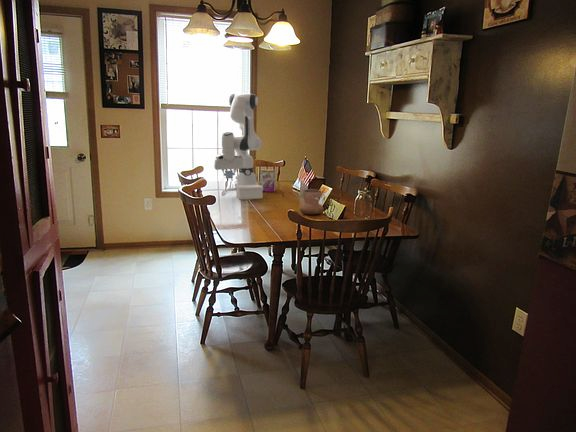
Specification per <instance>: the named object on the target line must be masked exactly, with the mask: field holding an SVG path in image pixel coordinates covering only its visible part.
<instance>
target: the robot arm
mask: <svg viewBox="0 0 576 432" xmlns="http://www.w3.org/2000/svg"><path fill="white" fill-rule="evenodd" d="M228 103H229V106H230V110H229V117H230V118H231V119H232V121H233V122H235V123H237V124H238V126H239V129H240V131H242V135H234V133H233V132H232V131H231V132H230V131H227V132H223V133H222V136H221V147H222V150H221V153H219V154H216V155H215V160H214V165H213V166H214V169H215V170H216V171H219V170H221V172H222V173H223V176H225V177H226V172H225V170H233V176H235V175H236V176H235V181H234V186H238V185H259V183H258V182H257V178H256V177H257V175H256V173H255V172H254V171H255V168H254V158H253V156H252V155H250V153H248V151H258V150H260V149H261V147H262V144H263V142H262V140H261V138H260V137H259V136H258V135H257V133H256V131H255V126H254V110H255V109H256V107H258V104H259V99H258V96H257V94H254V93H247V92H246V93H245V92H243V93H232V94H231V95H230V96H229V97H228ZM236 154H237V155H236ZM237 170H238V174H236V172H237Z"/></svg>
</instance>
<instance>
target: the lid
mask: <svg viewBox="0 0 576 432" xmlns="http://www.w3.org/2000/svg"><path fill="white" fill-rule="evenodd" d="M235 187H237V188H238V189H239V191H254V190H263V187H262V186H260V184H257V185H235Z"/></svg>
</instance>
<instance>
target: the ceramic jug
mask: <svg viewBox="0 0 576 432" xmlns="http://www.w3.org/2000/svg"><path fill="white" fill-rule="evenodd" d="M301 192H302V198H303V201H304V202H303V203H302V204H301V205H300V206H299V211H300V213H302V214H304V215H307V214H308V215H309V216H315V215H316V214H317V215H320V214H322V213H323V212H324V209H325V208H324V207H323V205H321V203H319V202H320V200H321V198H322V196H323V195H322V194H323V190H320V189H315V188H306V189H302V190H301ZM317 215H316V216H317Z"/></svg>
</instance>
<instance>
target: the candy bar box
mask: <svg viewBox="0 0 576 432" xmlns="http://www.w3.org/2000/svg"><path fill="white" fill-rule="evenodd" d="M259 185H260V186H262V187H263V192H264V193H265V192H267V193H274V192H275V191H276V169H267V168H264V169H263V168H260V169H259Z"/></svg>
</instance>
